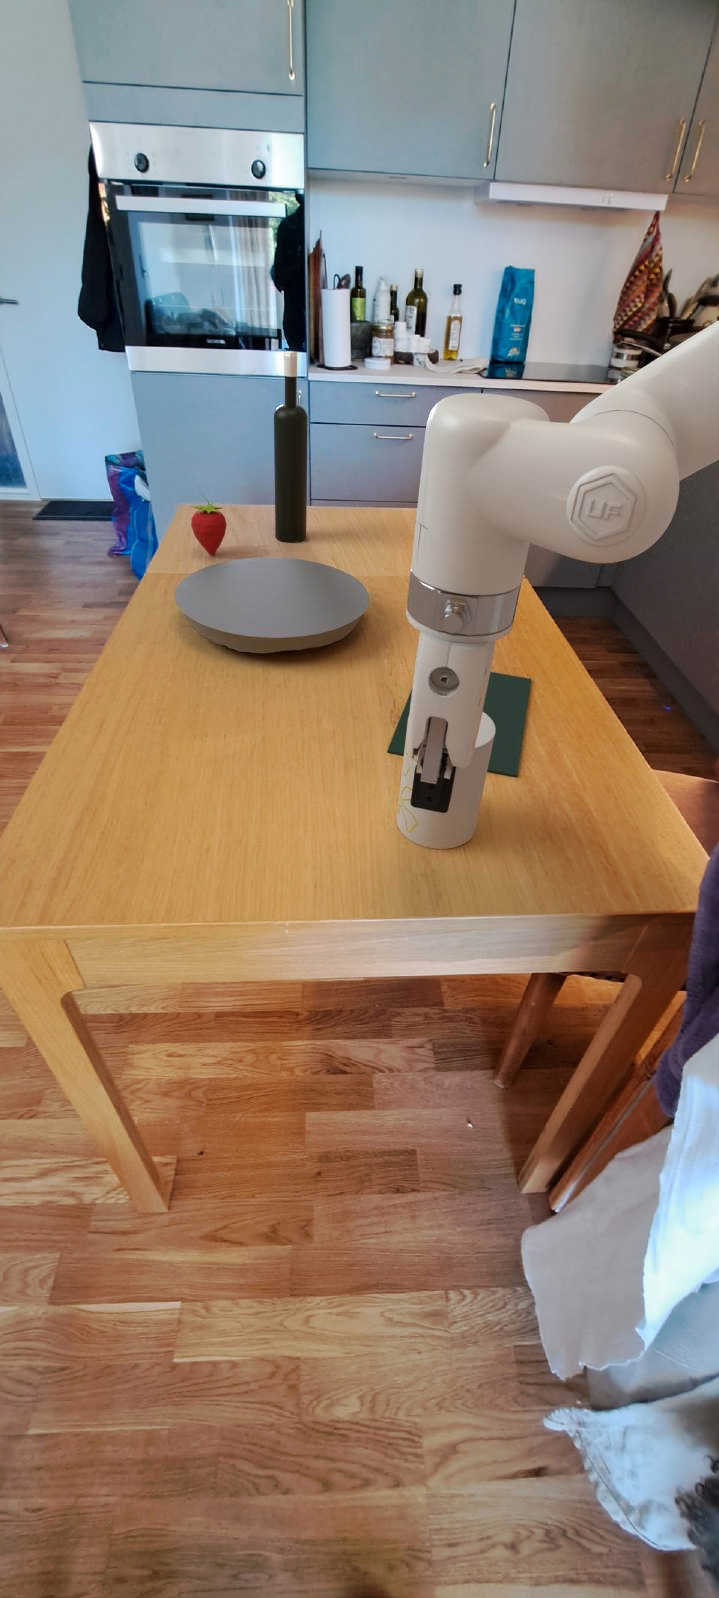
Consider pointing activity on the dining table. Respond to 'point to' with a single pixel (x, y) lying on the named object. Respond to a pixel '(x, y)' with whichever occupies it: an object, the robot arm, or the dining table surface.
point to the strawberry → (209, 527)
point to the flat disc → (271, 603)
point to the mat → (504, 710)
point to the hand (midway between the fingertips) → (430, 804)
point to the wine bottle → (290, 460)
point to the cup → (463, 804)
